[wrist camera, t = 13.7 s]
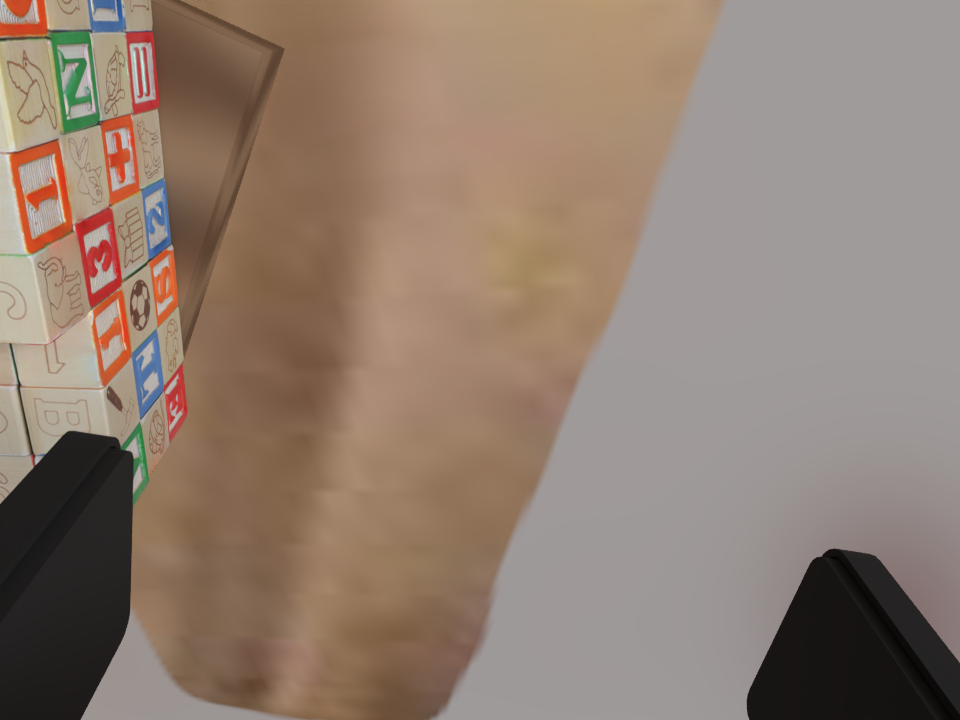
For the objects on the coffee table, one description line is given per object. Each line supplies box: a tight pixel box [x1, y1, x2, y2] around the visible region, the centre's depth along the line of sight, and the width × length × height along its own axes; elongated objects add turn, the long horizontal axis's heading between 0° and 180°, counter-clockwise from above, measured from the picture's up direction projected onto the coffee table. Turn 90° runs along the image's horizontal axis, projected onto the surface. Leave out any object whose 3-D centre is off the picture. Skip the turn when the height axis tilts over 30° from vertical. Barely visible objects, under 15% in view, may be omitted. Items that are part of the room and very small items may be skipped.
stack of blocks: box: [0, 0, 188, 506], centre depth 29 cm, size 21×6×12 cm, turn 176°
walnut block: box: [151, 0, 284, 363], centre depth 37 cm, size 18×9×5 cm, turn 156°
